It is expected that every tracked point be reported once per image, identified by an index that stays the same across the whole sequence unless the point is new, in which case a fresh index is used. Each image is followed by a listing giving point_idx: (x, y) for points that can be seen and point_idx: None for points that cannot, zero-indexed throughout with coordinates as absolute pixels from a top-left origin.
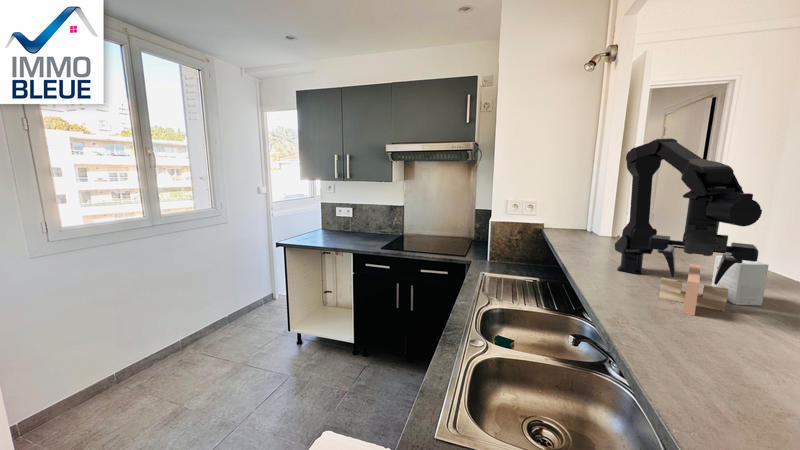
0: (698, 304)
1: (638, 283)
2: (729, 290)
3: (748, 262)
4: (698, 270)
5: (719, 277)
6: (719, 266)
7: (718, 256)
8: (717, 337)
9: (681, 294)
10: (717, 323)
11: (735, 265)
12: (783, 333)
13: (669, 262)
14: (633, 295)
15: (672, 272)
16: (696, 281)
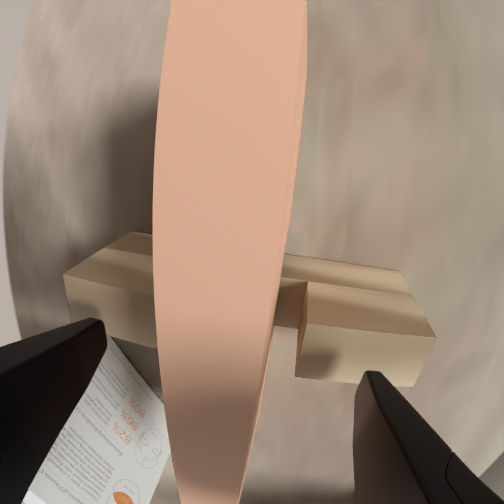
0: None
1: (428, 414)
2: (107, 391)
3: None
4: (182, 464)
5: (45, 339)
6: (15, 434)
7: None
8: None
9: (302, 276)
10: None
11: (36, 478)
12: (19, 116)
13: (459, 475)
14: (501, 240)
15: (389, 397)
16: (198, 25)
